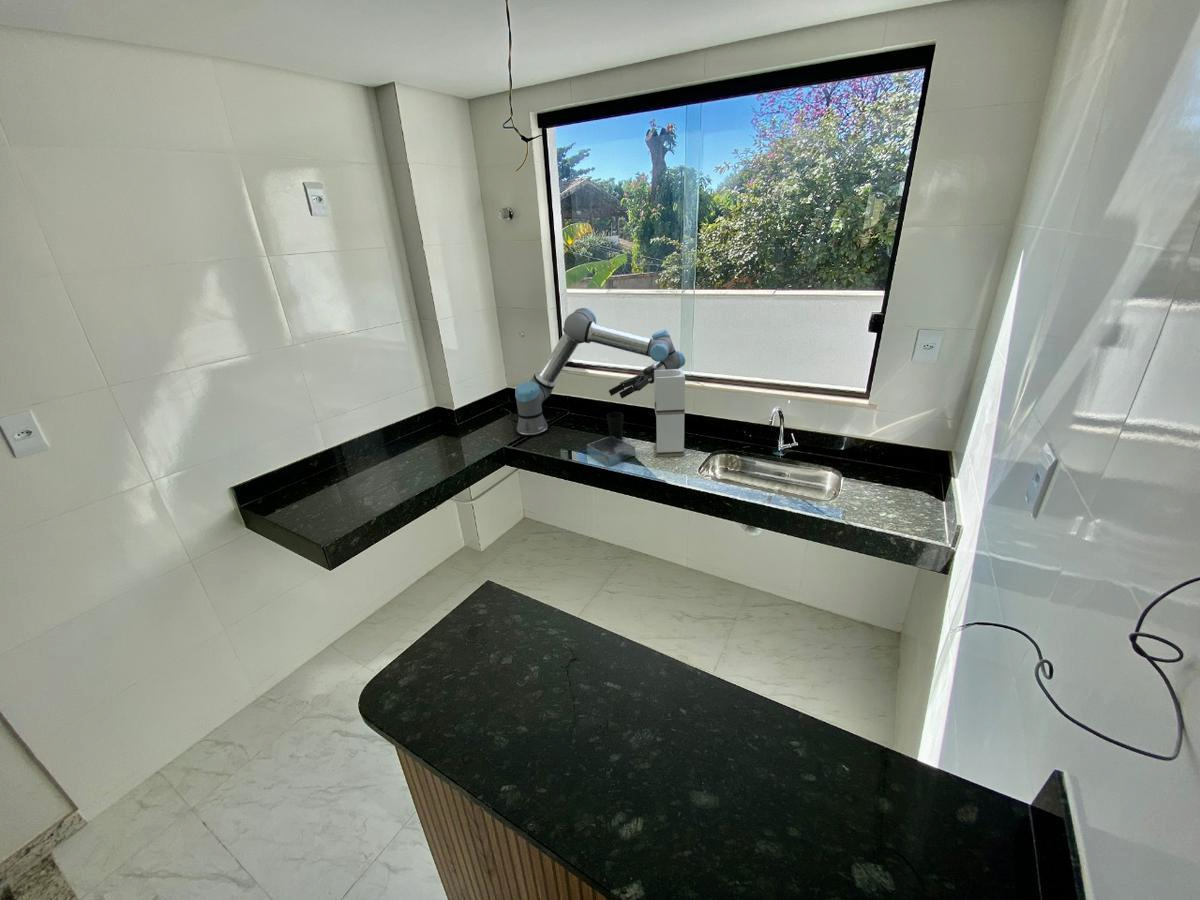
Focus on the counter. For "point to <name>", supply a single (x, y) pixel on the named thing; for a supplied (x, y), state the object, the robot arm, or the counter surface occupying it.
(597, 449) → the translucent shallow box
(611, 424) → the cup
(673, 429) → the grey square pillar
